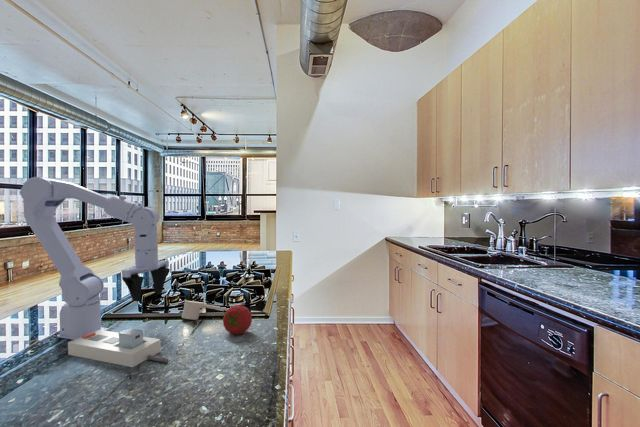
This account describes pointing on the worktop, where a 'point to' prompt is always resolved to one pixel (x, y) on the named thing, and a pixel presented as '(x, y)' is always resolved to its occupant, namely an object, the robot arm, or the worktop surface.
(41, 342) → the worktop surface
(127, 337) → the block
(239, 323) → the tomato
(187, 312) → the toilet paper hanger
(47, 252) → the robot arm
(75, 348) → the power strip
